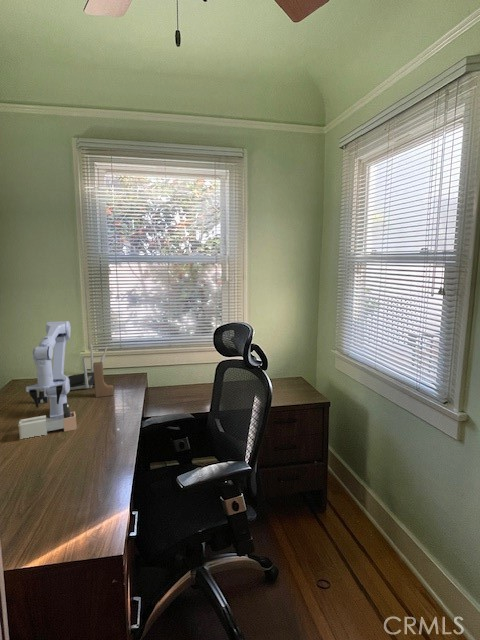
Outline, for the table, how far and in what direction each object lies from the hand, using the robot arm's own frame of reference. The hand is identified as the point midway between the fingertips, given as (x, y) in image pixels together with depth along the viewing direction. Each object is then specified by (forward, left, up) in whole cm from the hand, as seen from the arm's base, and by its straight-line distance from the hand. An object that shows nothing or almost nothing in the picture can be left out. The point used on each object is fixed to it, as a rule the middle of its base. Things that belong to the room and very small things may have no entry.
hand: (47, 404), depth 153 cm
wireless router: (-55, +20, -10) cm, 59 cm away
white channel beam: (+5, -6, -10) cm, 12 cm away
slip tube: (+5, +3, -9) cm, 11 cm away
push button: (-34, -4, -10) cm, 36 cm away
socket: (+5, +8, -10) cm, 14 cm away
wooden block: (-29, +26, -10) cm, 40 cm away
